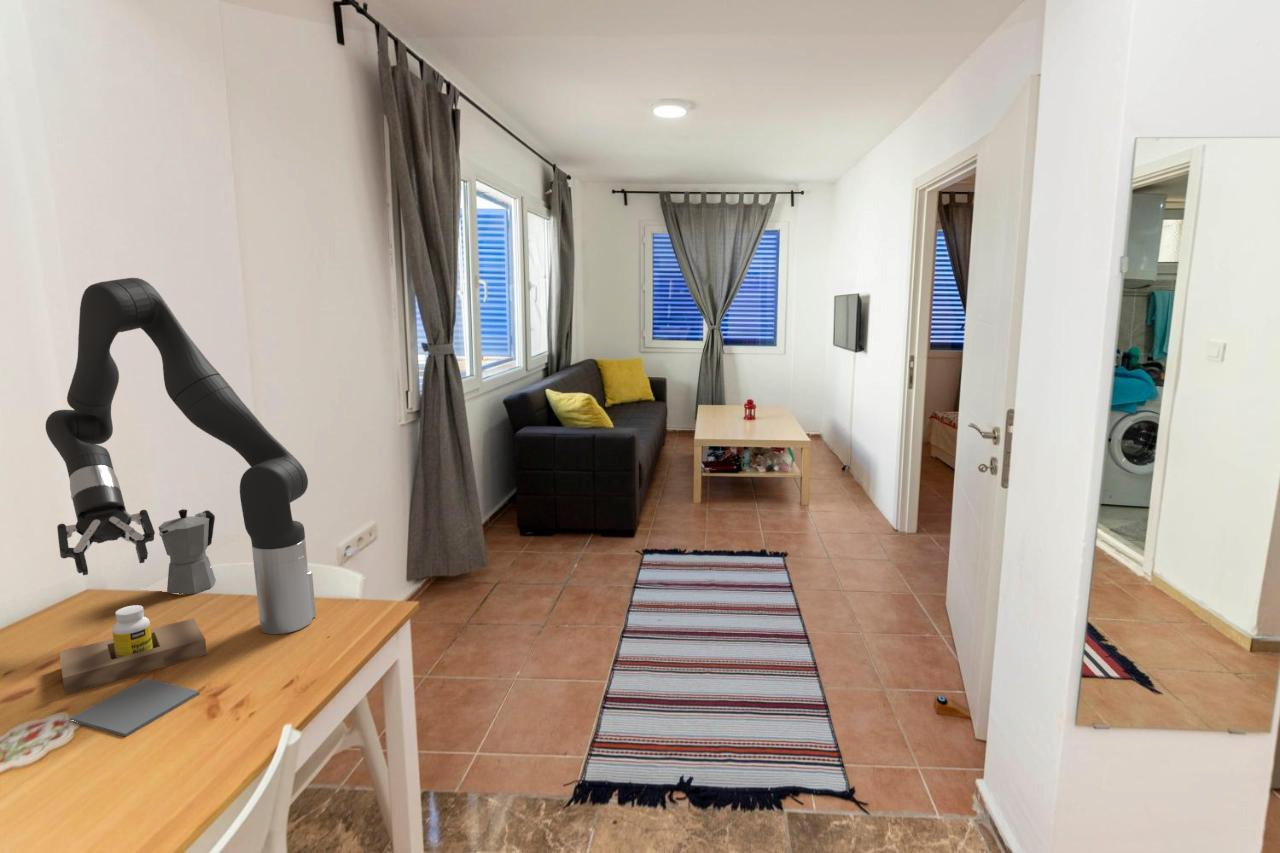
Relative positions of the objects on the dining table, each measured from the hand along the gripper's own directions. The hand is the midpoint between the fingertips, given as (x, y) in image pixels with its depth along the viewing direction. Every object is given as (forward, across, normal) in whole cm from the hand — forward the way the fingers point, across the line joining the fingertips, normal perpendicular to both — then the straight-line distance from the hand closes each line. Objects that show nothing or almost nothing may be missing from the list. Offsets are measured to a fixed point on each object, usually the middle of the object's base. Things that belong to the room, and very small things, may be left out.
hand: (114, 567), depth 130 cm
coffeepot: (-4, +16, +24) cm, 29 cm away
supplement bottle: (+18, 0, +3) cm, 18 cm away
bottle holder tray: (+18, 0, +3) cm, 18 cm away
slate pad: (+30, -2, -9) cm, 32 cm away
